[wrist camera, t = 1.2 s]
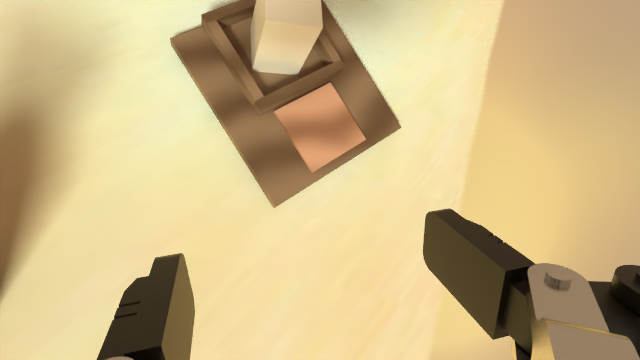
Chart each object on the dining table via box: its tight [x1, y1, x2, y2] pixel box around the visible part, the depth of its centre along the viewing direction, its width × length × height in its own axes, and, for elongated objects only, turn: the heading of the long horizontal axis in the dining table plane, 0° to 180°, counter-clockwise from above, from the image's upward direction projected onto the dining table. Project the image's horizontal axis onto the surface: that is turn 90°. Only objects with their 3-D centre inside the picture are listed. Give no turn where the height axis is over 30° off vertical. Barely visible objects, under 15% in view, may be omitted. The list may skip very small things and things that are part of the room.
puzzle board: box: [170, 0, 401, 208], centre depth 38 cm, size 20×18×3 cm
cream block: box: [250, 0, 323, 75], centre depth 34 cm, size 5×5×9 cm
